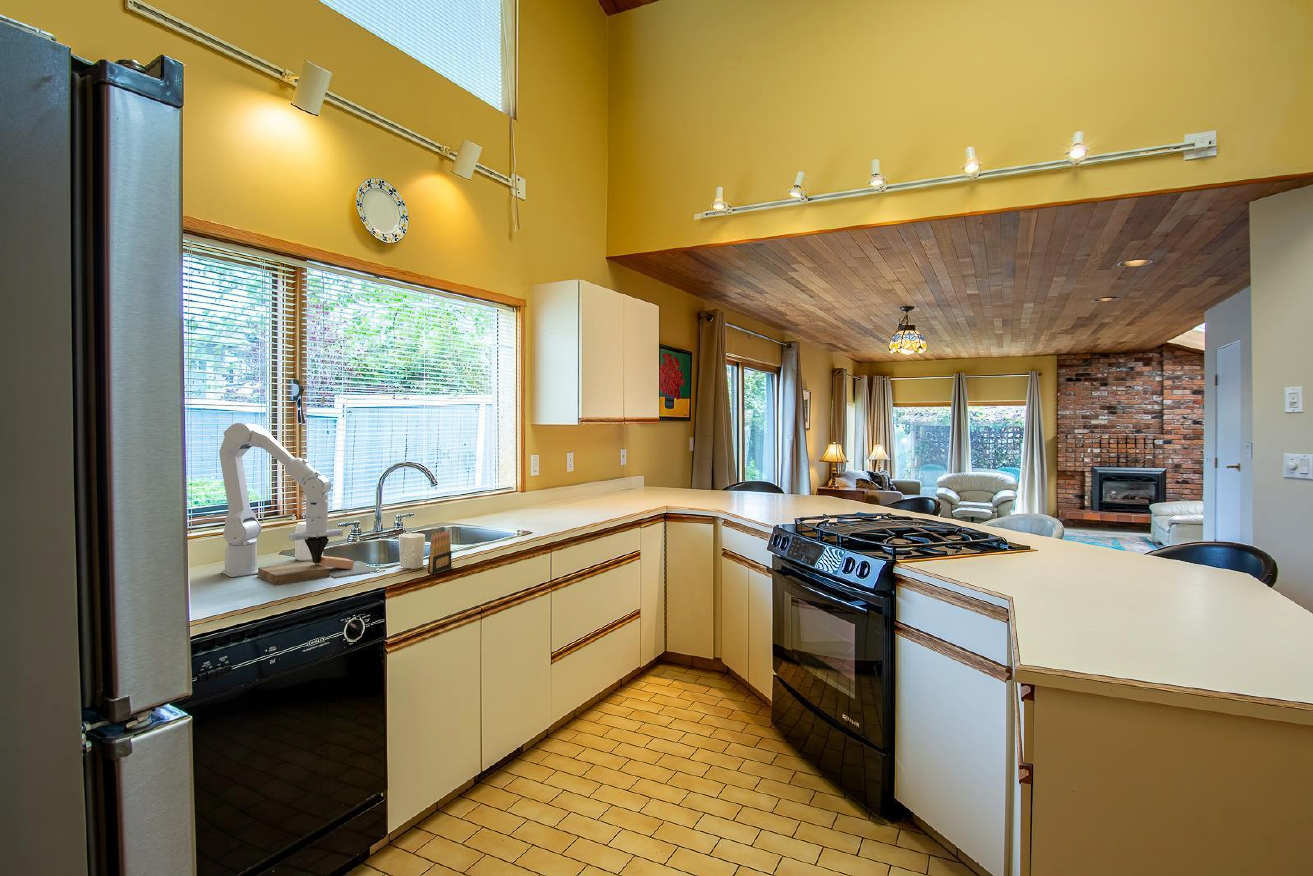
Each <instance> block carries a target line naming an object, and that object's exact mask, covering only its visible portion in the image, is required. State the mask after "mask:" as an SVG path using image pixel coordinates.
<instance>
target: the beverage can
mask: <svg viewBox="0 0 1313 876" xmlns="http://www.w3.org/2000/svg"><path fill="white" fill-rule="evenodd" d="M299 532H306V521H299V522H297V524H296V526H295V532H294V533H299ZM322 536H324V535H322ZM311 537H314V536H311ZM294 542H295V545H294V546H295V549H294V558H295V559H296V560H297V561H299V562H307V561H310V562H313V561H312V556H311V553H310V550H309V548H308V546H307V544H306V543H305V539H304V540H295V541H294ZM322 556H324V552H323V553H322ZM295 559H294V560H295Z"/></svg>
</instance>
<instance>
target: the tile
mask: <svg viewBox="0 0 1313 876" xmlns="http://www.w3.org/2000/svg"><path fill="white" fill-rule="evenodd" d="M354 561H355V560H351V559H349V558H346V557H345V558H343V557H334V556H327V555H323V556H321V560H320V563H315V564H318V565H321V566H326V567H336V568H345V569H352V568H353V564H354Z"/></svg>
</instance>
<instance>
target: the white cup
mask: <svg viewBox="0 0 1313 876" xmlns="http://www.w3.org/2000/svg"><path fill="white" fill-rule="evenodd" d="M425 545H426V534H424V533H415V532H414V533H403V534H399V535H398V553H399V567H400V566H401V567H403V568H411V569H410V570H415V569H420V568H423V566H424V558H425ZM403 568H402V569H403Z"/></svg>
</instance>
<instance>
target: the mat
mask: <svg viewBox="0 0 1313 876" xmlns="http://www.w3.org/2000/svg"><path fill="white" fill-rule="evenodd" d="M353 561H354V564H353V568H352V569H345V568H336V567H327V568H329V577H330V578H333V579H340V578H346V577H352V576H359V575H365V574H366V573H367V574H371V573H370V572H374V573H378V572H377V571H379V570H376V569H374V568H380V566H376V567H370V565H371V564H370V563H367V562H364V561H360V560H357V561H355V560H353ZM355 564H359V565H355ZM366 565H369V567H367V566H366ZM324 567H326V566H324Z"/></svg>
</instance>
